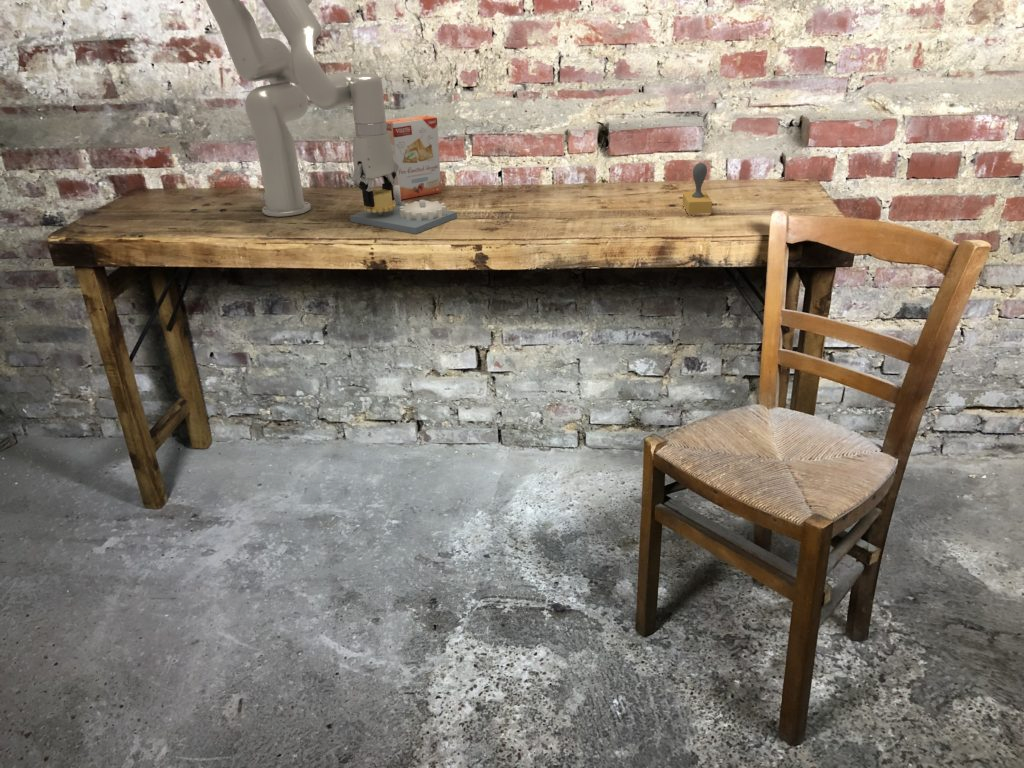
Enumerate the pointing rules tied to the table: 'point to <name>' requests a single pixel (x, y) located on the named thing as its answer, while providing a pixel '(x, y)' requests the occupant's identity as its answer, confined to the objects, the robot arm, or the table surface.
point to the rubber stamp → (698, 193)
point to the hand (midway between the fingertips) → (379, 202)
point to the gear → (381, 201)
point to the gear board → (407, 215)
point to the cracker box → (415, 155)
